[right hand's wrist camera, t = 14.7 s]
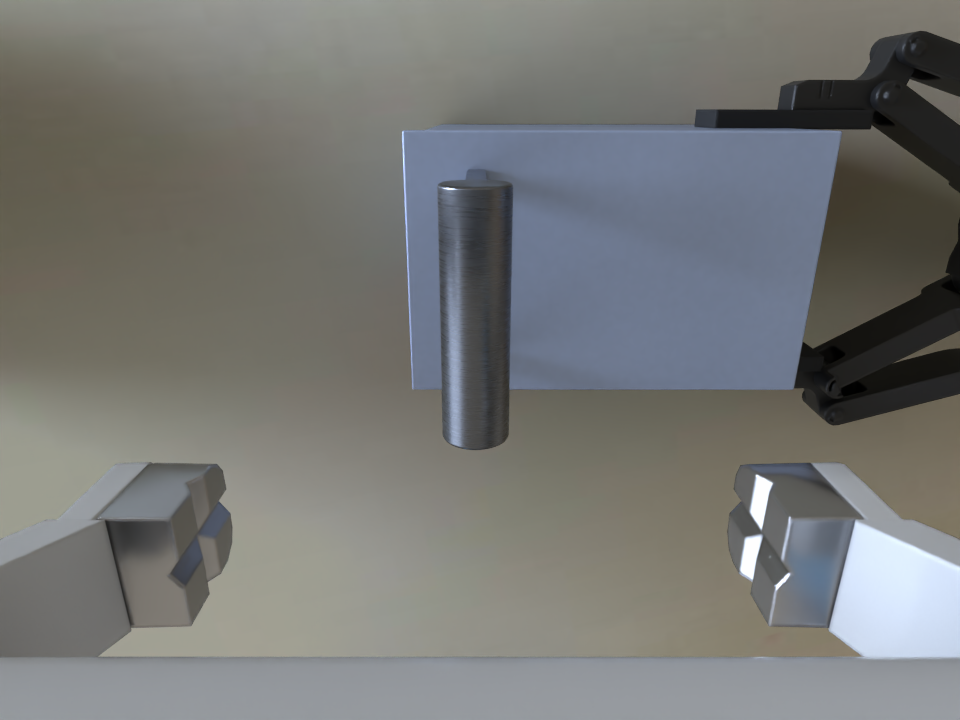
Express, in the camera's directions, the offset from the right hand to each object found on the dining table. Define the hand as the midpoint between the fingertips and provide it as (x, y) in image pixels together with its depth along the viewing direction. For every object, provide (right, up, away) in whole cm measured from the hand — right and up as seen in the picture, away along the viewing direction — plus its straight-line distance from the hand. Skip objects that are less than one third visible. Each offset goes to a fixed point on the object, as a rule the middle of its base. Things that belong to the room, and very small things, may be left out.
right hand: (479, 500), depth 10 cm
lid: (+5, +6, +16) cm, 18 cm away
